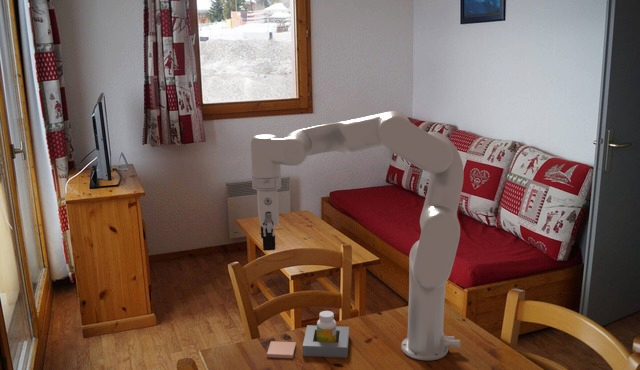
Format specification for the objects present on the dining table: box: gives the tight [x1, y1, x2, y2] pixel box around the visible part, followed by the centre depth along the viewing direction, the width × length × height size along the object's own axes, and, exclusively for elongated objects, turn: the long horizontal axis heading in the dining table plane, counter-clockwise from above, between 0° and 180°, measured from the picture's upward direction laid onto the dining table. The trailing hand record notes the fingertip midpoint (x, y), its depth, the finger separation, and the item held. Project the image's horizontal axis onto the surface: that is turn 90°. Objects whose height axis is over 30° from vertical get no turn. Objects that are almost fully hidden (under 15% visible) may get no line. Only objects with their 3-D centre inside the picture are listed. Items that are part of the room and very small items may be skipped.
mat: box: [266, 340, 297, 359], centre depth 177 cm, size 7×7×1 cm
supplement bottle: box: [316, 310, 337, 343], centre depth 178 cm, size 5×5×10 cm
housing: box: [302, 324, 350, 359], centre depth 179 cm, size 12×12×3 cm
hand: (268, 243), depth 173 cm, fingers open, 9 cm apart
